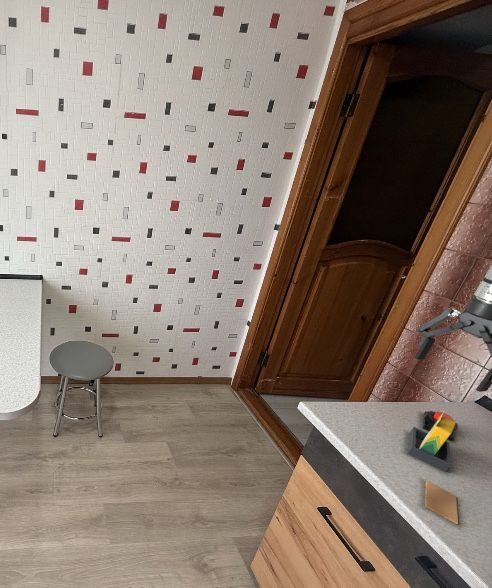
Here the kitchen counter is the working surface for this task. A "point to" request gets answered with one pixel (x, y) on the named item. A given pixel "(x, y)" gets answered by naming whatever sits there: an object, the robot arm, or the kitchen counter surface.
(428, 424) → the control block
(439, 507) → the mat
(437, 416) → the release button
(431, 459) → the dock
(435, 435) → the crayon box
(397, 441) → the kitchen counter surface
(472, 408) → the kitchen counter surface
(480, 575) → the kitchen counter surface
